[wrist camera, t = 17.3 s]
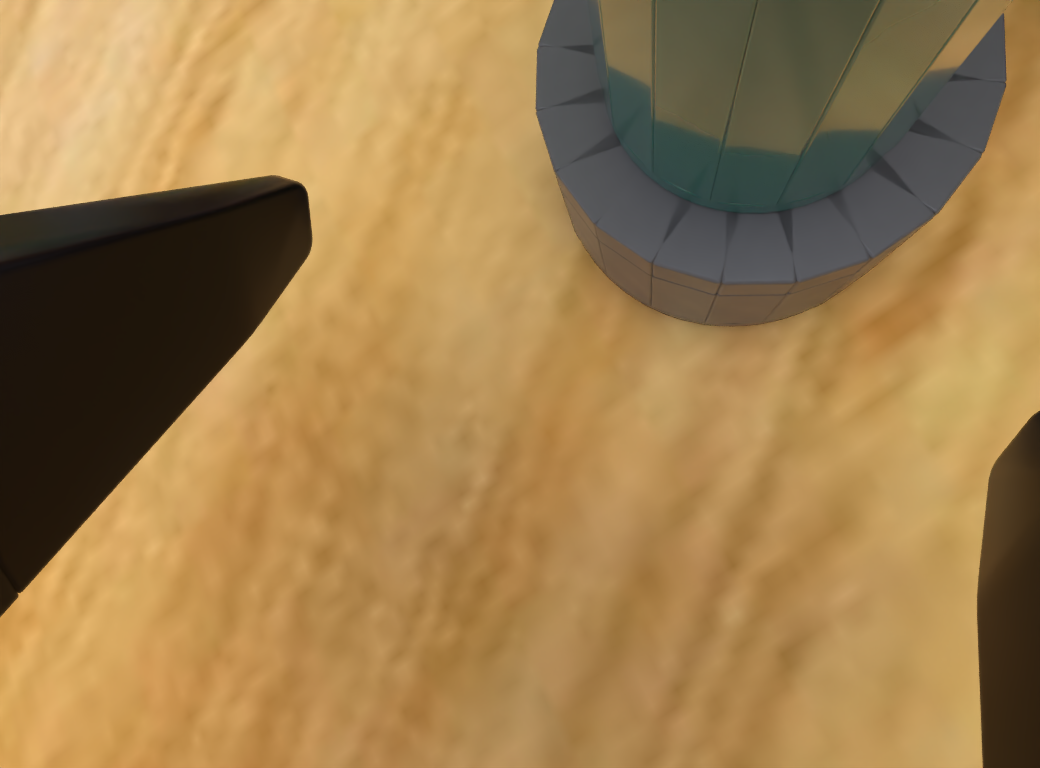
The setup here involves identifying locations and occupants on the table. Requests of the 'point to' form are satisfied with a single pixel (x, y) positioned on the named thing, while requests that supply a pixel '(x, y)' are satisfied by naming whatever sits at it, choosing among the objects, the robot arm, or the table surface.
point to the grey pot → (747, 236)
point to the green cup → (773, 88)
